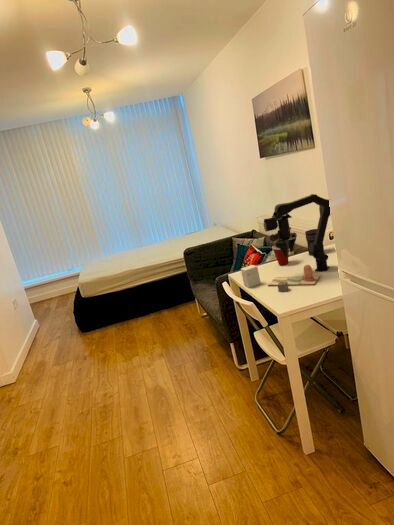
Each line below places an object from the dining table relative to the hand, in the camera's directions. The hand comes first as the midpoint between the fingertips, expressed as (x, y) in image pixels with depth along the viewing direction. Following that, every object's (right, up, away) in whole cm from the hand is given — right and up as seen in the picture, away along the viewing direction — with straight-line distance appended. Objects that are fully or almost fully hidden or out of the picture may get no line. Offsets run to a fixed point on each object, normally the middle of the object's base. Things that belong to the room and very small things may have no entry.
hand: (288, 254), depth 213 cm
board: (+2, -15, -5) cm, 16 cm away
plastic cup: (+4, -6, +29) cm, 30 cm away
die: (-6, -19, -14) cm, 24 cm away
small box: (-19, -17, +6) cm, 26 cm away
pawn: (+8, -13, -10) cm, 19 cm away
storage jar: (+26, +1, +35) cm, 44 cm away
